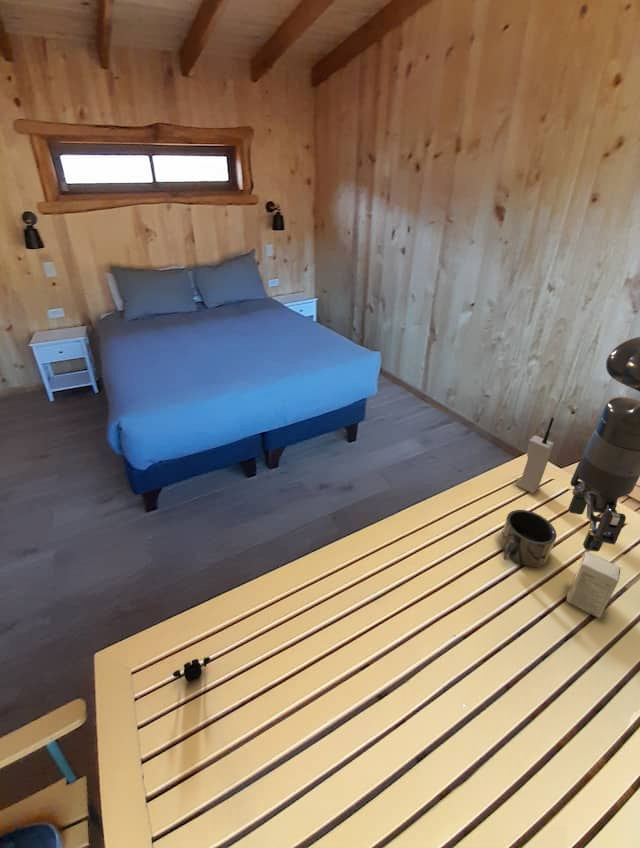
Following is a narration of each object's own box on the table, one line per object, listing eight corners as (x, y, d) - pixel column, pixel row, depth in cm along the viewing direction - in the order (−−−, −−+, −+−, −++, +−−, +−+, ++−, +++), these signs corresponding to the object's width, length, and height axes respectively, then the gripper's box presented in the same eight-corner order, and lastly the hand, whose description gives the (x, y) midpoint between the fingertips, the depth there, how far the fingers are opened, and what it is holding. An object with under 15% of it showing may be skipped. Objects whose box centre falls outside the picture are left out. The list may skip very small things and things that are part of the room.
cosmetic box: (602, 604, 87) (623, 567, 82) (599, 619, 84) (621, 582, 79) (567, 586, 91) (585, 549, 86) (564, 600, 88) (582, 563, 83)
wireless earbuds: (210, 664, 78) (208, 649, 76) (214, 677, 76) (211, 662, 74) (174, 680, 76) (171, 665, 74) (177, 694, 74) (173, 680, 72)
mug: (515, 526, 106) (522, 503, 103) (555, 554, 98) (565, 532, 95) (483, 548, 100) (489, 526, 97) (523, 581, 92) (532, 558, 89)
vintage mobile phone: (520, 479, 122) (543, 410, 111) (538, 488, 119) (563, 418, 107) (515, 485, 120) (537, 415, 109) (532, 494, 116) (558, 423, 105)
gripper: (662, 494, 58) (623, 568, 65) (622, 437, 70) (592, 505, 77) (601, 484, 60) (569, 557, 68) (573, 430, 72) (548, 497, 80)
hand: (582, 529), depth 72 cm, fingers open, 8 cm apart
